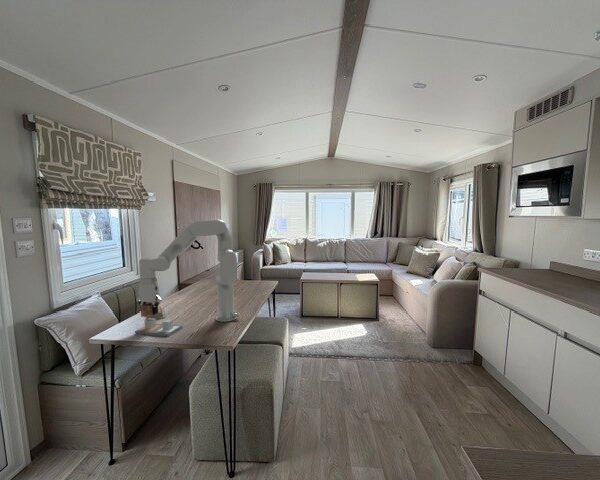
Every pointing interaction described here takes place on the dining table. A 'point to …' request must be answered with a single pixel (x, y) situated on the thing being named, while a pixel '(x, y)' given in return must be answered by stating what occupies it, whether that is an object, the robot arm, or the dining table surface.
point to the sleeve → (147, 310)
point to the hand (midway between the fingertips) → (149, 313)
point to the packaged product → (160, 315)
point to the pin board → (159, 328)
